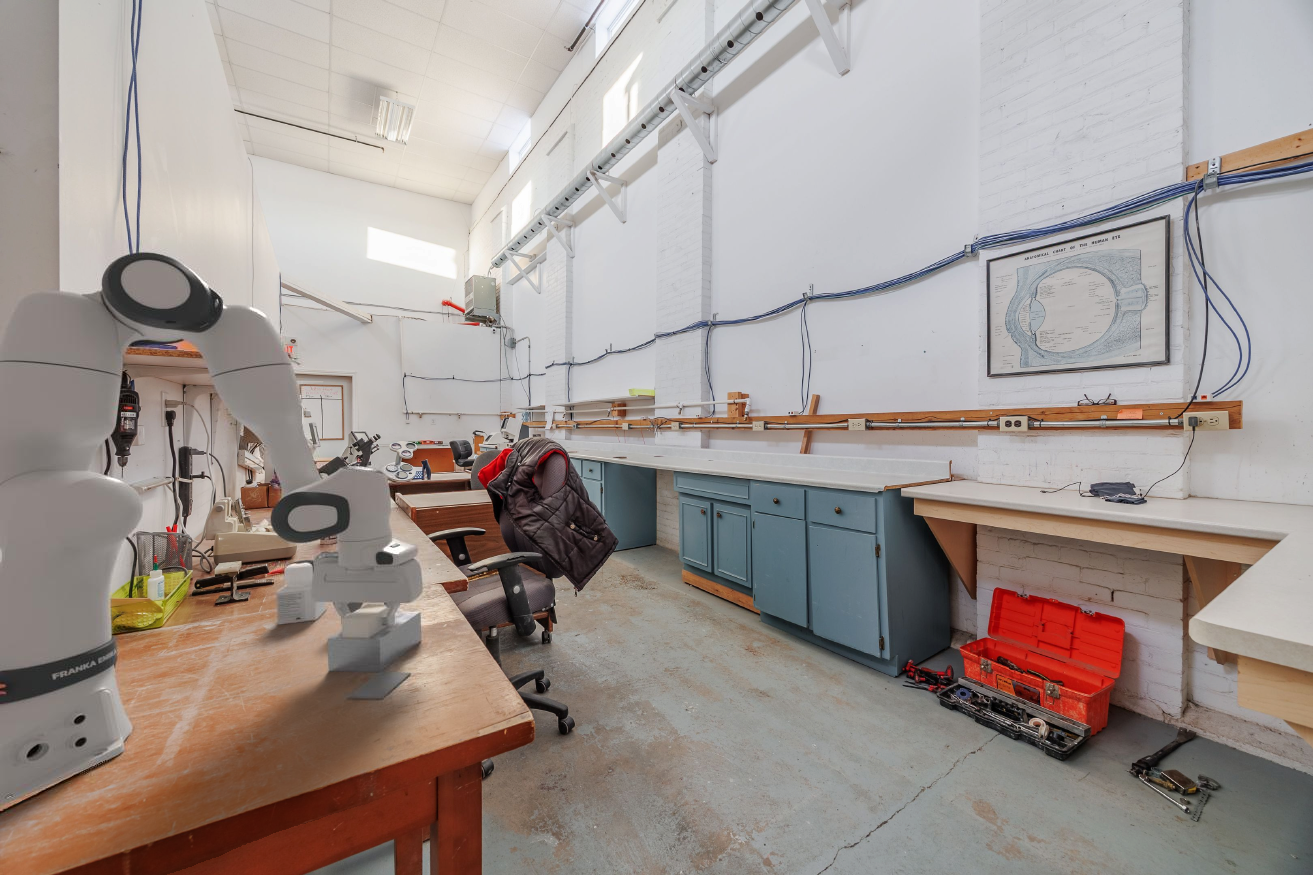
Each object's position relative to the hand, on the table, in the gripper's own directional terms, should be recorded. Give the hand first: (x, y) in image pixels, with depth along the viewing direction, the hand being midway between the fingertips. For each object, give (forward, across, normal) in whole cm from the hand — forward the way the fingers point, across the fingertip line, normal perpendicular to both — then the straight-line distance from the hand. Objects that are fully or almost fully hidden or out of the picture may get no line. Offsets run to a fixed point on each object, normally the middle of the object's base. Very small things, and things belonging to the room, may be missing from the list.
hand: (368, 624), depth 92 cm
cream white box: (+1, 0, 0) cm, 1 cm away
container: (+7, -31, +20) cm, 38 cm away
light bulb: (+7, -14, +13) cm, 21 cm away
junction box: (+7, 0, +2) cm, 7 cm away
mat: (+7, +8, -9) cm, 14 cm away
